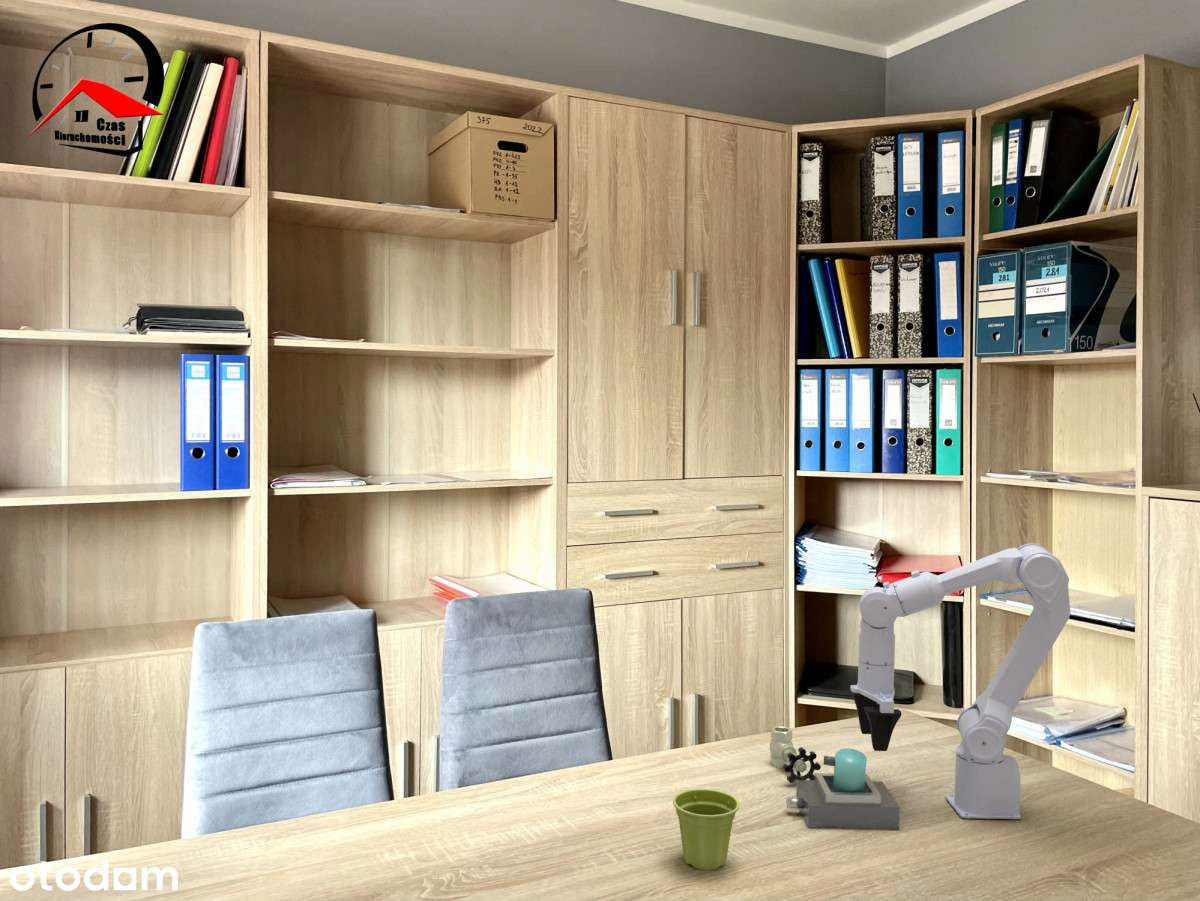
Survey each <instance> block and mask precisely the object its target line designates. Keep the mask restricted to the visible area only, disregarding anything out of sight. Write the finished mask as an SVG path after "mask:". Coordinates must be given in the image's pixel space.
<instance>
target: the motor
mask: <svg viewBox="0 0 1200 901" xmlns="http://www.w3.org/2000/svg"><path fill="white" fill-rule="evenodd" d="M814 775H815V780H809V779H806V780H796V796H795V797H786V799H785V800H786V808H787V809H799V810H800V813H801V814H802V816H803V817H802V818H803V819H804V822H805V824H806V826H807V828H808V829H841V830H842V829H843V830H845V829H848V830H851V829H852V830H853V829H854V830H860V829H861V830H900V823H901V822H900V821H901V820H900V819H901V818H900V817H901V816H900V814H901V807H900V805H899V803H898V802H897V800H895V797H894V796H893V795H892V793H891V792H890V791H889V789H888V788H887V786H886V785H885V783H884V782H883V781H881V780H880V781H877V780H874V781H872V779H871V778H870V777H869V775H868V773H865V785H864V793H852V792H834V790H833V779H834V772H833V773H831V772H830V773H829V772H823V773H821V772H820V773H819V772H814Z"/></svg>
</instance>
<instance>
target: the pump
mask: <svg viewBox="0 0 1200 901" xmlns="http://www.w3.org/2000/svg"><path fill="white" fill-rule="evenodd" d="M867 762H868V761H867V756H866V755H865V754H864V753H863V752H862V751H861V750H857V749H854V748H849V747H848V748H842V749H839V750H837V751H836V752H835V754H834V756H829V755H823V766H829V767H833V768H834V769H833V773H834V779H833V790H834V792H852V793H864V785H865V774H867V773H866V772H867Z"/></svg>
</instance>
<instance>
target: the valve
mask: <svg viewBox="0 0 1200 901" xmlns="http://www.w3.org/2000/svg"><path fill="white" fill-rule="evenodd" d="M770 738H771V739H770V742H769V752H770V753H771V754H770V764H771V765H772V766H773V767H774V768H777V767H778V769H779V768H780V769H782V770H783V771H784V772H785V773H790V775H787V776H786V780H787V782H788V783H789V784H793V783H794V782H795V781H797V780H815V771H820V770H821V768H822V766H821V764H820V763H819V762H817V761H816V762H815V760H816V759H817V757H818V756H817V754H816V753H815V751H809V752H808V753H809V754H807V750H806V749H805V748H804V747H802V746H801V747H799V748H798V749H796V748H795V747H794V744H793V730H792V729H791V728H790V727H788V726H784V725H777V726H776V725H775V726H773V727H771V728H770ZM797 751H798V753H797ZM806 762H809V763H810V764H809V765H810V767H809V770H808V772H807V773H806V774H804V775H802V774H801V773H804V772H805V771H807V764H806ZM794 769H795V770H796V771H794ZM795 772H796V774H795Z"/></svg>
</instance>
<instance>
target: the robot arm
mask: <svg viewBox="0 0 1200 901" xmlns="http://www.w3.org/2000/svg"><path fill="white" fill-rule="evenodd" d="M910 574H911V576H909V577H906V578H903V579H900V580H897V581H894V582H892V583H890V582H889V581H885V582H883V583H882V585H883V587H880V586H873V587H869V588H868V589H866V590H865V591H864V592H863V594H862V595H861V596H860V601H858V605H859V612H860V615H861V620H860V624H859V625H860V626H859V628H860V631H859V632H858V634H859V635H858V660H857V661H858V662H857V663H858V665H857V666H858V669H857V670H858V671H857V672H858V673H857V684H852V685H850V687H849V688H850V691H849V692H850V694H851V696H852V698H853V701H854V704H855V707H856V711H857V717H858V723H859V727H860V731H861V732H860V733H861V734H862V735H870V739H871V746H872V749H873V751H874V752H887V751H888V750H889V746H890V742H891V738H892V735H893V732H894V729H895V727H896V726H897V722H899V720H900V719H901V718H902V711H901V710H900V709H899V708H898V709H895V701H894V697H895V694H896V692H895V690H896V689H895V687H894V684H895V658H896V657H895V654H896V653H895V652H896V651H895V650H896V635H895V632H894V631H895V629H894V628H895V622H896V620H897V618H898V617H900V618H904V617H908V616H911V615H914V614H917V613H919V612H923V611H926V610H928V609H929V610H930V609H932V608H934V607H937V606H940V605H941V604H942V603H943V600H944V598H945V596H946V595H949V594H952V593H956V592H959V591H963V590H965V589H969V588H973V587H976V586H979V585H982V584H986V583H990V582H993V581H998V582H1002V583H1006V584H1009V585H1012V586H1013V585H1015V586H1017V585H1018V580H1019V581H1020V582H1021V584H1023V585H1024V587H1025V588H1026V589H1025V590H1026V593H1027V595H1028V596H1029V597H1028V598H1029V600H1030V603H1031V605H1032V608H1033V609H1032V611H1031V613H1030V614H1029V616H1028V618H1027V620H1026V621H1025V623H1024V625H1023V626H1022V628H1021V629H1020V631H1019V633H1018V635H1017V636H1016V638H1015V640H1014V642H1013V643H1012V645H1011V647H1010V648H1009V650H1008V652H1007V653H1006V655H1005V657H1004V658H1003V660H1002V662H1001V663H1000V665H999V667H998V668H997V670H996V672H995V674H994V675H993V677H992V679H991V681H990V682H989V683H988V686H987V688H986V689H985V690H984V691H983V692H982V693H981V694H979V695H978V696H977V697H976V699H975V700H974V702H973V703H972V704H971V705H970V706H968V707H967V708H965V709H963V710H962V711H961V712H960V713H959V715H958V717H957V722H956V723H957V724H956V725H957V730H958V732H959V734H960V736H961V742H960V743H959V744H958V745H957V747H956V748H955V767H954V768H955V770H954V771H955V772H954V793H953V794H945V799H946V800H947V801H948V803H949V805H950V806H951V807H952V808H953V809H954V810H955V812H956V813H957V814H958V815H959V816H960V818H962V819H989V820H991V819H993V820H996V819H998V820H1000V819H1004V820H1021V818H1022V815H1020V802H1021V800H1020V799H1021V798H1020V797H1021V771H1020V766H1019V763H1018V762H1017V760H1016V758H1015V757H1014V756H1013V755H1008V754H1004V751H1005V747H1006V737H1007V734H1008V732H1009V731H1010V728H1011V725H1012V720H1013V715H1014V711H1015V710H1016V708H1017V707H1018V704H1019V703H1020V701H1021V700H1022V698H1023V696H1024V695H1025V693H1026V691H1027V690H1028V688H1029V686H1030V685H1031V683H1032V681H1033V680H1034V678H1035V676H1036V675H1037V673H1038V671H1039V670H1040V668H1041V666H1042V664H1043V663H1044V661H1045V660H1046V658H1047V656H1048V655H1049V652H1050V651H1051V650H1052V648H1053V646H1054V644H1055V643H1056V641H1057V639H1058V638H1059V636H1060V634H1061V632H1062V631H1063V629H1064V628H1065V626H1066V624H1068V621H1069V620H1070V616H1071V604H1070V592H1069V582H1070V577H1069V575H1068V574H1067V572H1066V569H1065V568H1064V565H1063V564H1062V562H1061V560H1060V559H1059V558H1058V557H1057V556H1055V555H1054V554H1053V553H1051V552H1050V551H1049V550H1048V549H1047V548H1046V547H1044V546H1043V545H1041V544H1038V543H1025V544H1023V545H1021V546H1018V548H1017V547H1011V548H1010V547H1009V548H1006V549H1004V550H1001V551H997V552H995V553H992V554H990V555H987V556H984V557H982V558H979V559H977V560H974V561H972V562H969V563H966V564H964V565H962V566H959V567H956V568H953V569H950V570H949V571H946V572H943V573H941V574H938V575H937V574H934V573H932V572H930V571H927V570H925V571H923V572H920V571H919V570H918V569H917V570H914V571H911V572H910Z"/></svg>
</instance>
